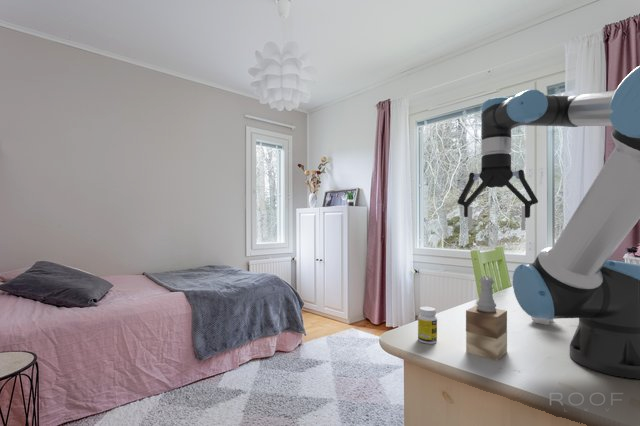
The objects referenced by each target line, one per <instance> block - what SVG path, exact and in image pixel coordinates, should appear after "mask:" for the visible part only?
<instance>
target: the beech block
mask: <svg viewBox="0 0 640 426" xmlns="http://www.w3.org/2000/svg"><path fill="white" fill-rule="evenodd" d="M465 332H466V331H465ZM465 335H466V336H465V340H466V341H465V342H466V343H465V347H466V348H465V351H466V352H467V353H470V354H473V355H476V356H479V357H484V358H487V359H490V360H495V361H499V360H500V359H501V358H502V357H503V356H504V355H505V354H506V353H508V331H507V332H506V333H504V334H503V335H502V336H501V337H499V338H498V339H495V338H491V337H487V336H483V335H479V334H474V333H470V332H466V333H465Z"/></svg>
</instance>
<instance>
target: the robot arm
mask: <svg viewBox="0 0 640 426" xmlns="http://www.w3.org/2000/svg"><path fill="white" fill-rule="evenodd" d="M480 119H481V151H480V152H481V155H482V156H481V162H480V163H481V170H480V173H474V172H469V175H468V181H467V183H466V185H465V186H464V189H463V190H462V192H461V195H460V197H458V200H457V204H458V205H461V206H462V207H463V217H464V218H467V229H468V230H469V229H470V230H471V229H473V206H470V205H472V203H474V201H475V200H476V199H477V198H478V197H479V196H480V194H482V192H484V190H485V189H487V188H491V189H493V188H503V187H506V188H508V189H509V190H510V192H512V193H513V195H514V196H516V197H517V198H518V199H519V200H520V201H521V202H522V204H523V205H521V215H520V216H521V217H520V220H521V222H520V223H521V225H520V226H521V230H520V231H526V219H528V218H529V219H530V217H531V206H533V205H536V204H538V202H539V200H538V198H537V197H536V195H535V193H534V191H533V190H532V187H530V185H529V183H528V181H527V179H526V177H525V171H524V170H523V169H519V170H514V171H512V170H513V169H512V155H511V152H512V129H515V128H517V127H521V126H527V127H528V126H529V127H530V126H531V127H532V126H533V127H534V126H535V127H547V126H548V127H567V128H578V127H611V126H612V127H613V129H612V131H611V134H610V137H611V139H612V140H613V141H612V142H613V144H614V145H615V146H614V148H613V150H612V152H611V153H610V155H609V156H608V158H607V160H606V162H605V163H604V164H603V166H602V168H601V169H600V171H599V173H597V176H596V178H595V179H594V180H593V182H592V184H591V185H590V187H589V188H588V190H587V192H586V193H585V194H584V196H583V197H582V200H581V201H580V203H579V204H578V206H577V207H576V209H575V211H574V213H573V214H572V216H571V217H570V219H569V221H568V222H567V224H566V226H565V227H564V229H563V230H562V232H561V234H560V235H559V237H558V238H557V240H556V242H555V244H554V245H553V246H548V247H545V248H543V249H541V250H540V252H539V253H538V255H537V256H536V258H535V260H534V261H533V262H532V263H527V262H526V263H522V264H519V265H518V266H517V267H516V268H515V269H514V271H513V274H512V288H513V294H514V297H515V299H516V300H517V304H518V305H519V306H520V308H521V309H522V310H523V312H525V313H526V315H528V316H530V317H531V316H532V317H534V318H545V319H553V320H555V319H556V320H557V319H578V324H577V327H576V329H575V332H574V334H573V337H572V338H571V341H570V344H569V350H568V351H569V352H568V353H569V357H570V358H571V359H572V360H573V361H574V362H575V363H577V364H579V365H581V366H584V367H586V368H588V369H590V370H593V371H596V372H599V373H602V374H606V375H609V376H613V375H614V377H618V376H620V378H624V377H627V378H626V379H630V378H636V379H635V380H640V264H638V263H632V262H625V261H619V260H612V259H610V258H611V257H612V256H613V254H614V253H615V252H616V250H617V249H618V247H620V245H621V244H622V242H623V241H624V240H625V238H626V237H627V236H628V235H629V233H630V232H631V230H632V229H633V228H634V227H635V225H637V223H638V222H639V220H640V65H639V66H637V67H636V68H634V69H633V70H632V71H631V72H630V73H629V74H627V76H625V77H624V78H623V80H622V81H620V83H619V85H618V86H617V88H616V89H615V90H609V91H602V92H601V91H598V92H593V93H592V92H591V93H584V94H574V95H549V94H547V95H545V93H544V92H541V91H540V90H539V89H536V88H531V89H527V90H524V91H520V92H519V93H517V94H514V96H512V97H506V96H499V97H498V96H497V97H493V98H489V99H486V100H485V101H484V102H483V103H482V105H481V114H480ZM513 176H514V177H515V178H516V179H517V180H519V181H520V183H521V185H522V186H523V188H524V190H525V191H526V193H527V195H528V197H529V198H530V200H528V199H527V198H526V197H525V196H524V195H523V194H522V193H521V192H520V191H519V190H518V189H517V188H516V187H515V186H514V185H513V184H512V183H511V181H510V180H511V179H512V178H513ZM478 179H480V180H481V181H482V182H481V183H480V184H479V186H478V187H477V188H476V189H475V190H474V191H473V192H472V194H471V195H470V196H469V197H468V195H469V194H470V191H471V190H472V188H473V185H474V183H475V181H477V180H478ZM467 197H468V198H467Z"/></svg>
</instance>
